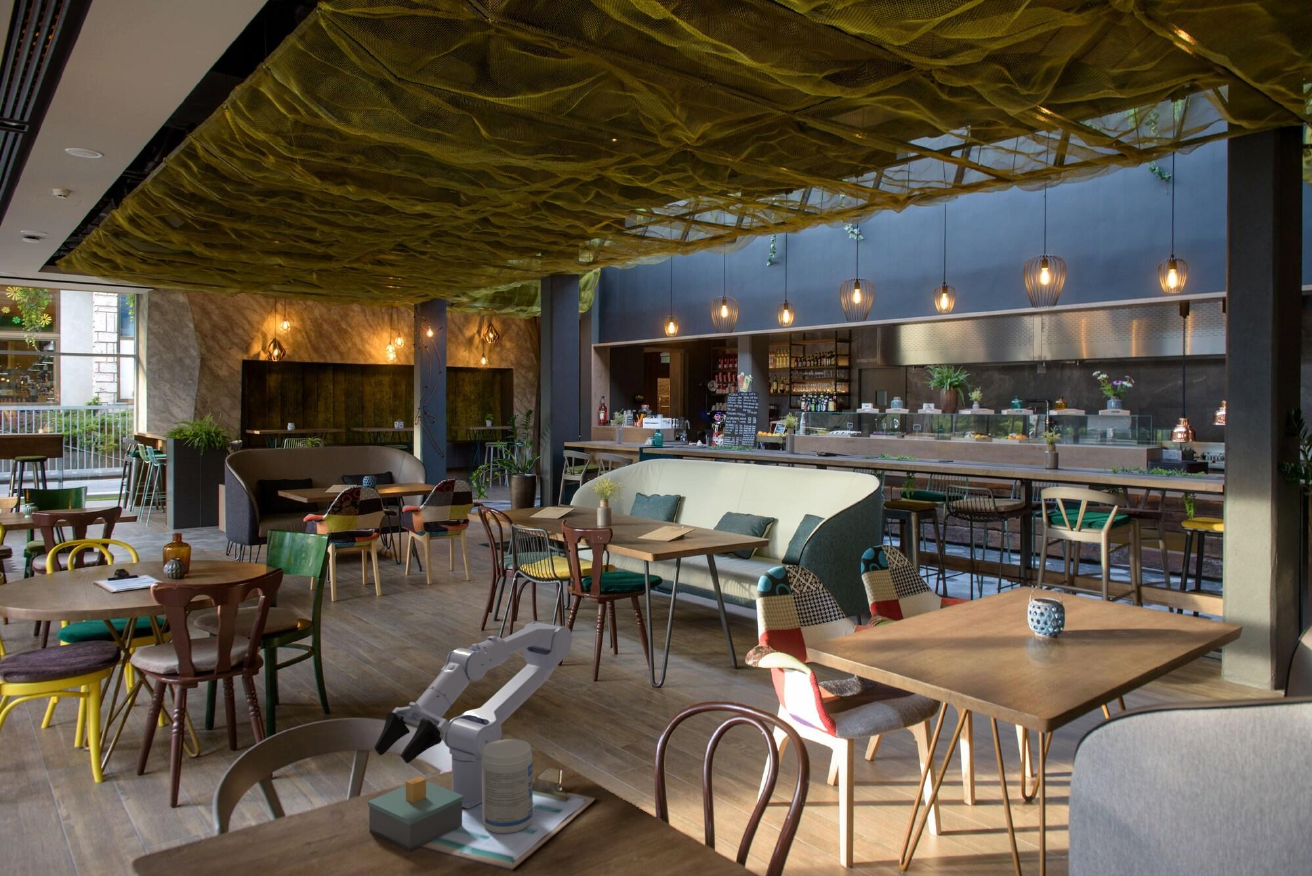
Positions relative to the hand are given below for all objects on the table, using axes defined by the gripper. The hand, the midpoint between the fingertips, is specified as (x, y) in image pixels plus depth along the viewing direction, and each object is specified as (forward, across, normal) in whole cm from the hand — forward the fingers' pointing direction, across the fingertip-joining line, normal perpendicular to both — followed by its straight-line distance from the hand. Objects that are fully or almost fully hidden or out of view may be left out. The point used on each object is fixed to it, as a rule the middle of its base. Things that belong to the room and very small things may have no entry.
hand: (390, 755), depth 159 cm
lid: (+2, +1, +12) cm, 12 cm away
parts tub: (+4, 0, +16) cm, 16 cm away
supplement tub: (-5, +13, +23) cm, 26 cm away
